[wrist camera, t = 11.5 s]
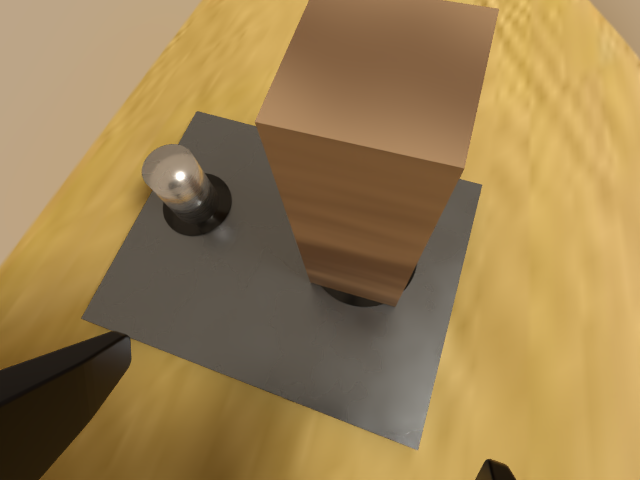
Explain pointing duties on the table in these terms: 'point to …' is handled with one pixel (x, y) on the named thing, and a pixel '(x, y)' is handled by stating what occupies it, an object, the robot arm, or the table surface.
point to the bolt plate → (275, 289)
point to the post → (373, 132)
